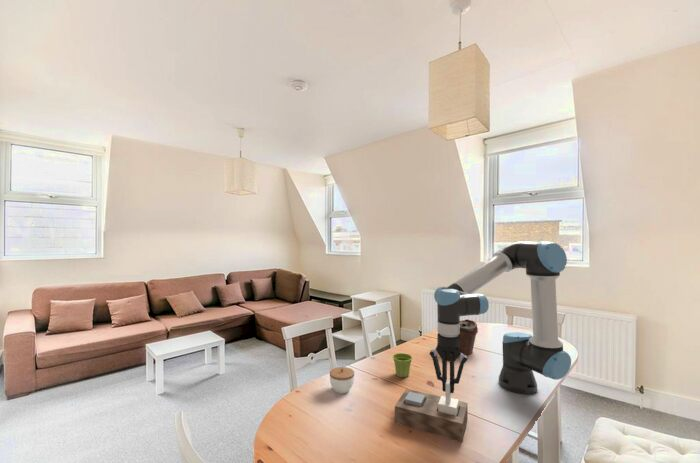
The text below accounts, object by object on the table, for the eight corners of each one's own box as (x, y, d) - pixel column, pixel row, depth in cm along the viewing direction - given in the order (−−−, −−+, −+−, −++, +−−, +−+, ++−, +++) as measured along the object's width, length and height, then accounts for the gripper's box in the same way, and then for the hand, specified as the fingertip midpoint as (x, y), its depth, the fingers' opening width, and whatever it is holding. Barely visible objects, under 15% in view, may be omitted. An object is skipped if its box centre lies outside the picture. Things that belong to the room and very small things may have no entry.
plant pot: (412, 380, 143) (412, 361, 143) (391, 378, 145) (391, 359, 145) (412, 371, 152) (412, 353, 152) (393, 369, 154) (393, 352, 154)
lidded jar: (357, 386, 137) (357, 365, 137) (349, 398, 127) (349, 375, 127) (335, 382, 141) (335, 361, 141) (325, 393, 131) (325, 371, 131)
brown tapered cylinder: (481, 348, 184) (480, 317, 184) (474, 359, 167) (473, 326, 167) (450, 342, 193) (449, 314, 193) (441, 353, 176) (440, 321, 177)
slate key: (425, 405, 116) (425, 395, 116) (421, 414, 110) (421, 402, 110) (409, 402, 118) (409, 391, 118) (404, 409, 113) (404, 398, 113)
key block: (467, 419, 113) (467, 402, 113) (462, 442, 100) (462, 423, 100) (406, 403, 123) (406, 388, 123) (394, 422, 111) (394, 405, 111)
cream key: (458, 410, 110) (458, 399, 110) (456, 419, 105) (456, 408, 105) (441, 406, 113) (441, 395, 113) (438, 415, 108) (438, 403, 108)
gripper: (469, 333, 110) (469, 400, 109) (432, 328, 116) (431, 391, 115) (466, 340, 103) (466, 411, 103) (427, 334, 109) (427, 401, 109)
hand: (448, 400), depth 109 cm, fingers closed
